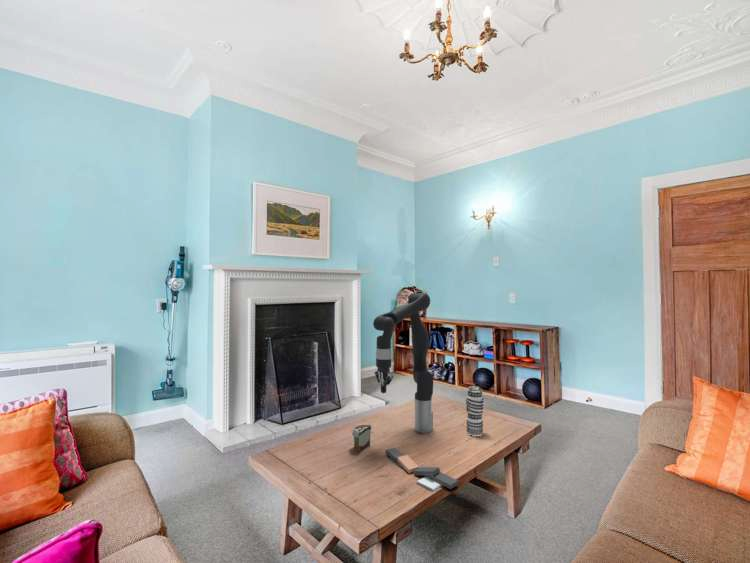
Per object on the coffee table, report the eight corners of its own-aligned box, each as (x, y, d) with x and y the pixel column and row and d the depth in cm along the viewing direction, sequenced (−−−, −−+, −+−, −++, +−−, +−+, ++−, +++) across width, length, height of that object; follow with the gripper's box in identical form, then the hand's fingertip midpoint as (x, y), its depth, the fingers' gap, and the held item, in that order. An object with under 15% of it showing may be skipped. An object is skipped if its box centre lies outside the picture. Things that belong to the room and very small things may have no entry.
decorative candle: (485, 437, 194) (485, 389, 194) (468, 437, 194) (468, 389, 194) (481, 430, 203) (481, 384, 203) (464, 430, 203) (464, 384, 203)
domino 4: (420, 467, 159) (439, 467, 152) (421, 471, 159) (440, 471, 152) (413, 471, 155) (432, 471, 149) (414, 475, 155) (433, 475, 148)
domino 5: (437, 470, 154) (458, 480, 146) (437, 474, 154) (458, 484, 146) (430, 475, 150) (450, 485, 143) (430, 478, 150) (450, 489, 143)
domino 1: (394, 447, 176) (405, 455, 167) (394, 451, 176) (405, 459, 167) (385, 449, 174) (395, 457, 165) (385, 452, 174) (395, 461, 165)
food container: (361, 442, 187) (361, 422, 187) (371, 445, 184) (371, 425, 184) (347, 451, 176) (347, 430, 177) (357, 454, 173) (357, 433, 173)
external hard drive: (416, 485, 149) (434, 473, 157) (433, 493, 143) (451, 481, 152) (416, 481, 149) (434, 470, 157) (433, 489, 143) (451, 477, 152)
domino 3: (406, 454, 167) (418, 466, 158) (406, 458, 167) (418, 470, 158) (397, 457, 165) (408, 469, 156) (397, 460, 165) (408, 473, 156)
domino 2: (398, 454, 172) (410, 464, 163) (398, 458, 172) (410, 467, 163) (389, 457, 169) (401, 466, 161) (389, 460, 169) (401, 470, 161)
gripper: (369, 355, 184) (369, 390, 184) (385, 360, 173) (385, 397, 173) (382, 354, 189) (382, 388, 189) (397, 358, 178) (397, 394, 178)
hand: (383, 392), depth 181 cm, fingers closed
